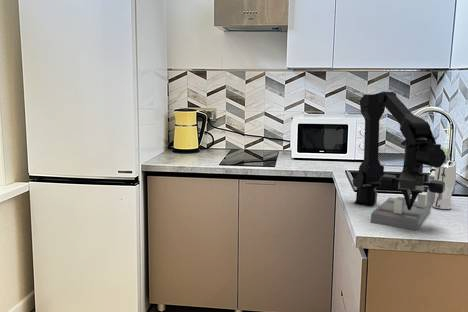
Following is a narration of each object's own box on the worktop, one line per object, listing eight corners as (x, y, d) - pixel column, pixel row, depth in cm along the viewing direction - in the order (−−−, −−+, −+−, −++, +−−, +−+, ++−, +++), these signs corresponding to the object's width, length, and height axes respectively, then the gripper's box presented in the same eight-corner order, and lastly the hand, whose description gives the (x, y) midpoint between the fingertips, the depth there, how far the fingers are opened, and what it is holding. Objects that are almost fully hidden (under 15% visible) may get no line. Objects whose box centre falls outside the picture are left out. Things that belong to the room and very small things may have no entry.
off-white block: (416, 206, 154) (418, 193, 153) (419, 204, 158) (420, 191, 157) (424, 207, 153) (425, 195, 152) (426, 205, 156) (427, 192, 156)
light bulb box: (429, 197, 180) (431, 170, 178) (448, 199, 177) (450, 172, 175) (425, 203, 171) (428, 174, 169) (445, 206, 168) (448, 177, 166)
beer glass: (444, 205, 169) (448, 164, 168) (456, 209, 163) (461, 167, 161) (427, 205, 168) (431, 164, 166) (439, 209, 161) (443, 167, 159)
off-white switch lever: (393, 212, 147) (394, 199, 146) (396, 209, 150) (397, 196, 149) (401, 214, 145) (402, 200, 145) (404, 211, 149) (405, 197, 148)
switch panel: (370, 222, 147) (371, 212, 146) (389, 205, 167) (389, 197, 166) (417, 230, 140) (417, 220, 139) (430, 211, 160) (431, 203, 159)
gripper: (376, 161, 141) (372, 210, 144) (442, 169, 132) (437, 221, 134) (385, 156, 151) (381, 203, 153) (447, 163, 141) (442, 212, 144)
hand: (409, 209), depth 146 cm, fingers closed
